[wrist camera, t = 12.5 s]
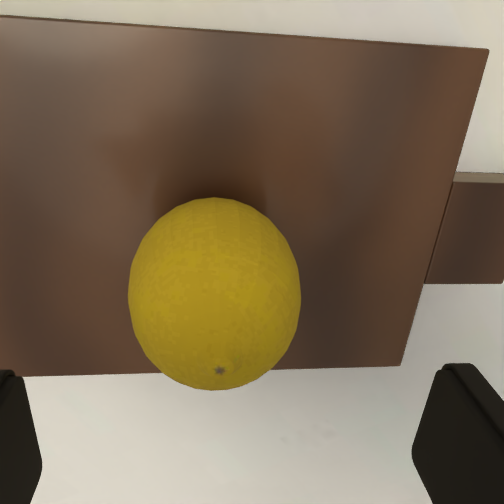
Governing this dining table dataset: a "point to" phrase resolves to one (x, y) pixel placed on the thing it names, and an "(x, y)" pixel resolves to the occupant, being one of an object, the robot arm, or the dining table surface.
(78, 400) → the dining table surface
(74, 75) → the cutting board
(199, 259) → the lemon
